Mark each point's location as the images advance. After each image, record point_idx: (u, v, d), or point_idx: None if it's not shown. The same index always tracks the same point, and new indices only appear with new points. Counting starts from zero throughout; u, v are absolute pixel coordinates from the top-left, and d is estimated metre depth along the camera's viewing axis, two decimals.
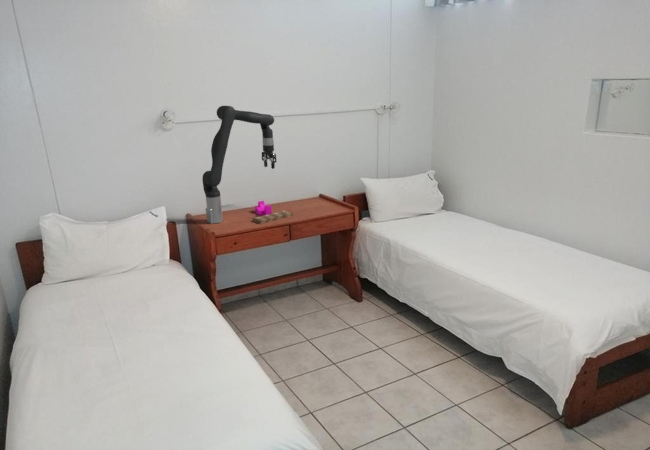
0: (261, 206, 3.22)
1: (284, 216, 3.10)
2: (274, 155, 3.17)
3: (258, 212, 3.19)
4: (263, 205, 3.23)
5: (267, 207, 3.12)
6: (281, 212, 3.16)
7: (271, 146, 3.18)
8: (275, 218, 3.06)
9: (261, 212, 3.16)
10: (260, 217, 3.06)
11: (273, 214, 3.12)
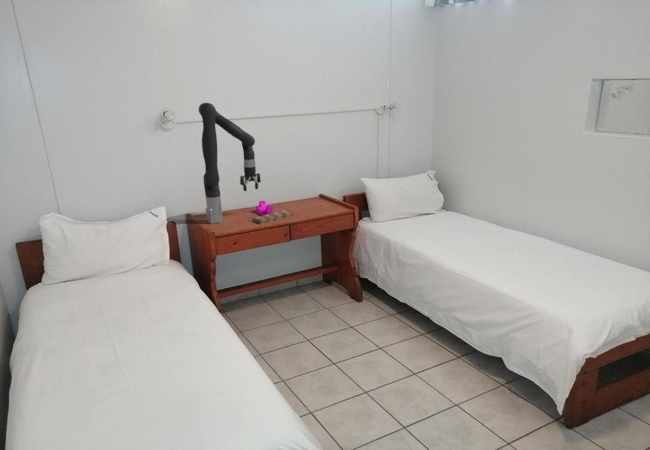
0: (262, 206, 3.23)
1: (284, 216, 3.10)
2: None
3: (259, 212, 3.20)
4: (264, 205, 3.24)
5: (268, 207, 3.13)
6: (281, 212, 3.16)
7: None
8: (275, 218, 3.06)
9: (262, 212, 3.17)
10: (260, 217, 3.06)
11: (273, 214, 3.12)
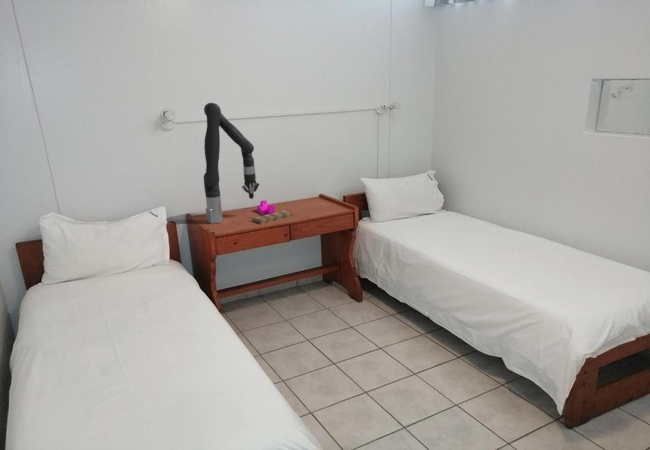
0: (263, 205, 3.23)
1: (284, 216, 3.10)
2: None
3: (261, 211, 3.21)
4: (265, 204, 3.24)
5: (270, 206, 3.14)
6: (281, 212, 3.16)
7: None
8: (275, 218, 3.06)
9: (264, 211, 3.18)
10: (260, 217, 3.06)
11: (273, 214, 3.12)
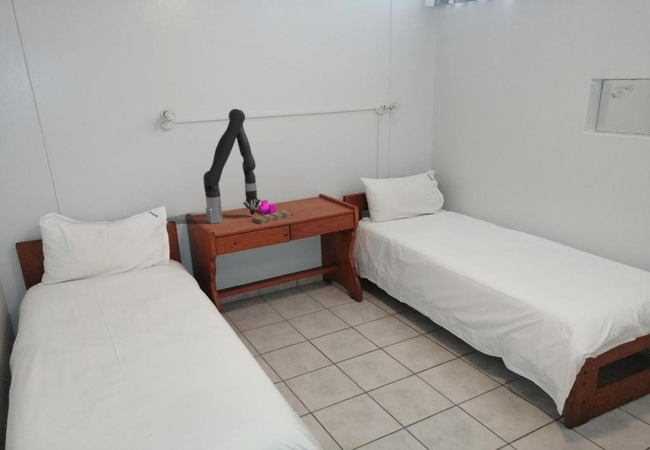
0: (264, 205, 3.24)
1: (284, 216, 3.10)
2: None
3: (262, 211, 3.21)
4: (266, 204, 3.25)
5: (271, 206, 3.15)
6: (281, 212, 3.16)
7: None
8: (275, 218, 3.06)
9: (265, 211, 3.18)
10: (260, 217, 3.06)
11: (273, 214, 3.12)
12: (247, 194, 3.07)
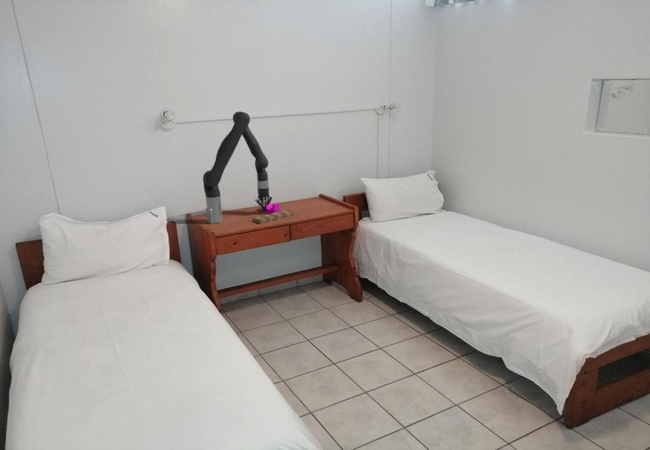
0: None
1: (284, 216, 3.10)
2: None
3: None
4: (269, 203, 3.27)
5: (275, 205, 3.17)
6: (281, 212, 3.16)
7: None
8: (275, 218, 3.06)
9: (269, 210, 3.20)
10: (260, 217, 3.06)
11: (273, 214, 3.12)
12: (259, 191, 3.13)
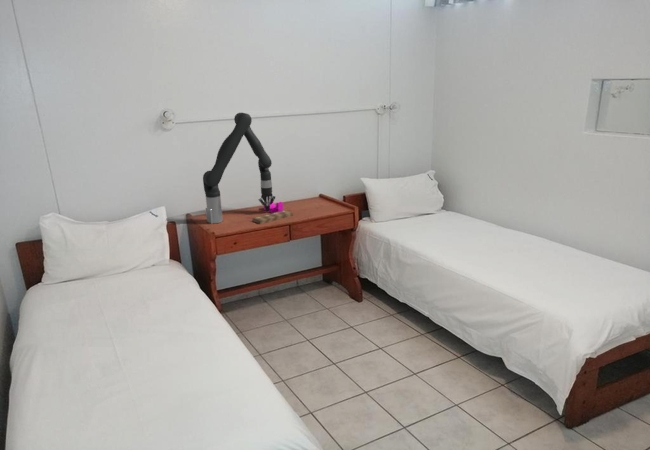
0: None
1: (284, 216, 3.10)
2: None
3: None
4: None
5: (279, 204, 3.19)
6: (281, 212, 3.16)
7: None
8: (275, 218, 3.06)
9: (272, 209, 3.22)
10: (260, 217, 3.06)
11: (273, 214, 3.12)
12: (263, 191, 3.15)
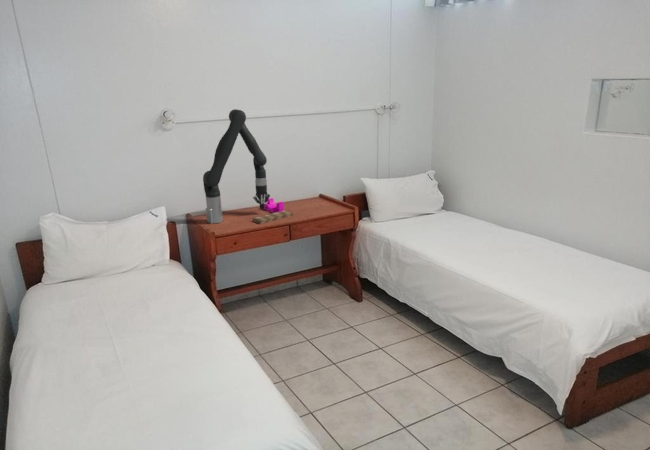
0: (271, 203, 3.28)
1: (284, 216, 3.10)
2: None
3: (269, 209, 3.25)
4: (273, 202, 3.30)
5: (280, 204, 3.20)
6: (281, 212, 3.16)
7: None
8: (275, 218, 3.06)
9: (273, 209, 3.23)
10: (260, 217, 3.06)
11: (273, 214, 3.12)
12: (257, 189, 3.11)
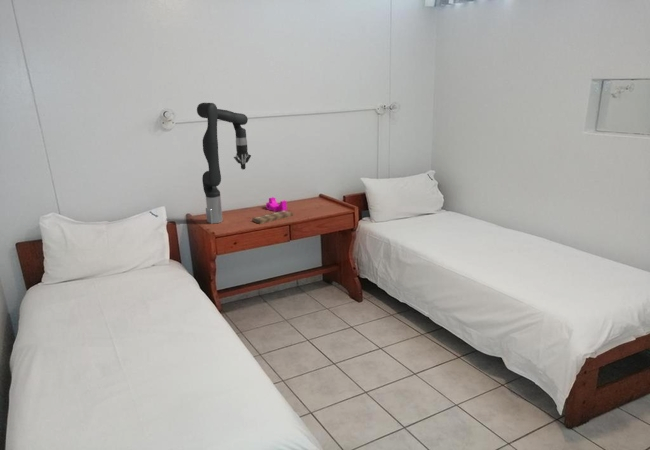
0: (273, 202, 3.31)
1: (284, 216, 3.10)
2: None
3: (272, 208, 3.28)
4: (274, 201, 3.32)
5: (283, 202, 3.23)
6: (281, 212, 3.16)
7: None
8: (275, 218, 3.06)
9: (276, 208, 3.25)
10: (260, 217, 3.06)
11: (273, 214, 3.12)
12: (238, 148, 3.15)
